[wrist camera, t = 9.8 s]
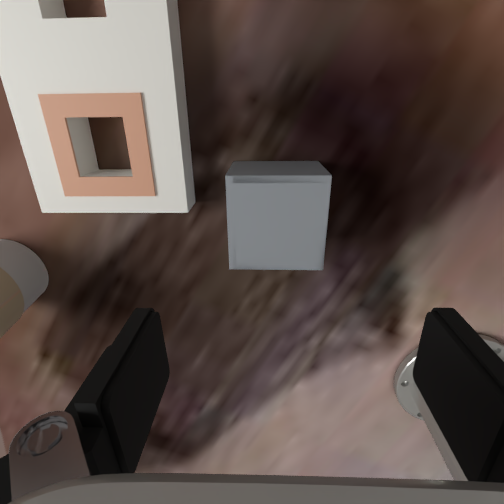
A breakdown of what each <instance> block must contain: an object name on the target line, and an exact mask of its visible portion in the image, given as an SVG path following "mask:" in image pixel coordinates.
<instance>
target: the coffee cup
mask: <svg viewBox="0 0 504 504" xmlns="http://www.w3.org/2000/svg"><path fill="white" fill-rule="evenodd" d="M48 282H49V277H48V272H47V269H46V267H45V265H44V263H43V262H42V260H41V259H40V258H39V257H38V256H37V255H36V254H35V253H34V252H33V251H32V250H30V249H29V248H28V247H26V246H24V245H22V244H20V243H18V242H15V241H12V240H6V239H0V338H1V337H2V336H3V335H4V334H5V333H6V332H7V331H8V330H9V329H10V328H11V327H12V326H13V325H14V324H15V323H16V322H17V321H18V320H19V319H20V317H21V316H22V314H23V312H24V311H25V310H26V309H27V308H28V307H29V306H30V305H31V304H32V303H33V302H34V301H35V300H36V299H37V298H38V297H39V296H40V295H41V294H42V293H43V292H44V291H45V290H46V288H47V286H48Z"/></svg>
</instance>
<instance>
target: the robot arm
mask: <svg viewBox="0 0 504 504" xmlns="http://www.w3.org/2000/svg"><path fill="white" fill-rule="evenodd" d="M168 378H169V364H168V358H167V353H166V347H165V342H164V337H163V331H162V326H161V320H160V315H159V313H158V312H155V311H154V309H153V308H136V309H135V310H134V311H133V313H132V315H131V316H130V318H129V319H128V321H127V322H126V324H125V325H124V327H123V328H122V330H121V331H120V333H119V334H118V336H117V337H116V339H115V341H114V342H113V344H112V345H110V346H108V347H107V348H106V350H105V351H104V352H103V354H102V355H101V357H100V358H99V360H98V361H97V363H96V364H95V366H94V367H93V369H92V370H91V372H90V373H89V375H88V376H87V378H86V379H85V381H84V382H83V384H82V385H81V387H80V388H79V390H78V391H77V393H76V394H75V396H74V397H73V399H72V400H71V402H70V403H69V405H68V406H67V408H66V409H65V411H53V412H48V413H46V414H43V415H40V416H38V417H37V418H35V419H33V420H31V421H30V422H29V423H27V424H26V425H25V426H24V427H23V428H21V430H20V431H19V432H18V433H17V434H16V435H15V437H14V438H13V440H12V442H11V444H10V448H9V454H7V455H6V456H4V457H2V458H0V504H504V345H503V344H502V343H500V342H499V341H497V340H496V339H494V338H491V337H488V336H486V335H481V334H477V333H476V331H475V330H474V329H473V328H472V327H471V326H470V325H469V324H468V323H467V322H466V321H465V320H464V319H463V317H462V316H461V315H460V314H459V313H458V312H457V311H456V310H455V309H454V308H433V309H432V311H431V312H428V313H427V315H426V318H425V322H424V326H423V330H422V334H421V339H420V343H419V347H418V348H416V349H415V350H414V351H412V352H411V353H410V354H409V355H408V356H407V357H406V358H405V359H404V360H403V361H402V362H401V364H400V366H399V367H398V369H397V371H396V374H395V377H394V391H395V394H396V397H397V399H398V401H399V403H400V405H401V406H402V407H403V409H404V410H405V411H407V412H408V413H409V414H410V415H412V416H414V417H416V418H418V419H421V420H424V421H425V423H426V425H427V427H428V429H429V431H430V433H431V435H432V437H433V439H434V441H435V443H436V445H437V447H438V449H439V451H440V453H441V455H442V457H443V459H444V461H445V463H446V465H447V467H448V469H449V471H450V473H451V475H452V477H453V479H454V481H451V480H420V479H389V478H356V477H319V476H280V475H235V474H187V473H134V472H135V470H136V467H137V464H138V462H139V459H140V456H141V453H142V451H143V448H144V445H145V442H146V440H147V437H148V434H149V431H150V428H151V426H152V423H153V420H154V417H155V415H156V412H157V409H158V406H159V404H160V401H161V398H162V395H163V393H164V390H165V387H166V384H167V382H168Z"/></svg>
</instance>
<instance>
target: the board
mask: <svg viewBox="0 0 504 504" xmlns="http://www.w3.org/2000/svg"><path fill="white" fill-rule="evenodd" d="M104 2H105V8H106V14H107V17H90V18H67V17H66V12H65V8H64V3H63V0H0V76H1V79H2V82H3V86H4V89H5V92H6V96H7V99H8V102H9V105H10V109H11V112H12V115H13V119H14V122H15V125H16V128H17V132H18V135H19V138H20V142H21V145H22V148H23V151H24V155H25V158H26V161H27V165H28V168H29V171H30V174H31V178H32V181H33V184H34V188H35V191H36V194H37V197H38V201H39V204H40V207H41V211H42V213H188V212H189V211H190V209H191V208H192V206H193V205H194V204H195V191H194V180H193V169H192V158H191V147H190V136H189V125H188V113H187V102H186V91H185V80H184V69H183V58H182V47H181V36H180V25H179V13H178V2H177V0H104ZM88 117H123V122H124V128H125V134H126V140H127V146H128V152H129V157H130V163H131V169H103V170H99V167H98V163H97V158H96V153H95V149H94V144H93V139H92V135H91V130H90V125H89V120H88Z"/></svg>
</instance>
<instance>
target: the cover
mask: <svg viewBox="0 0 504 504" xmlns="http://www.w3.org/2000/svg"><path fill="white" fill-rule="evenodd" d="M225 180H226V202H227V225H228V247H229V269H265V270H323V263H324V253H325V242H326V232H327V222H328V211H329V201H330V191H331V180H332V175H331V174H330V173H329V172H328V171H327V170H326V169H325V168H324V167H323V166H322V165H321V164H320V162H319V161H234V162H233V163H232V165H231V167H230V168H229V170H228V172H227V174H226V175H225Z"/></svg>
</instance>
